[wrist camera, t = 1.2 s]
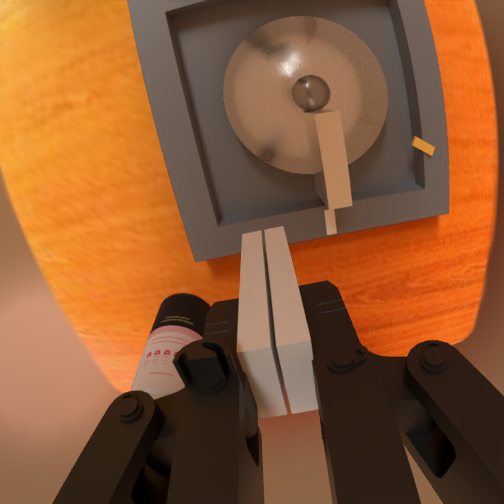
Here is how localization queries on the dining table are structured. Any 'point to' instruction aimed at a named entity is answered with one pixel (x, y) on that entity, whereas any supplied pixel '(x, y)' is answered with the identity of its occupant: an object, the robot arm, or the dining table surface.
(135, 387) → the beverage can
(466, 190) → the dining table surface
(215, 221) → the panel
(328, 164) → the dial
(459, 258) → the dining table surface
